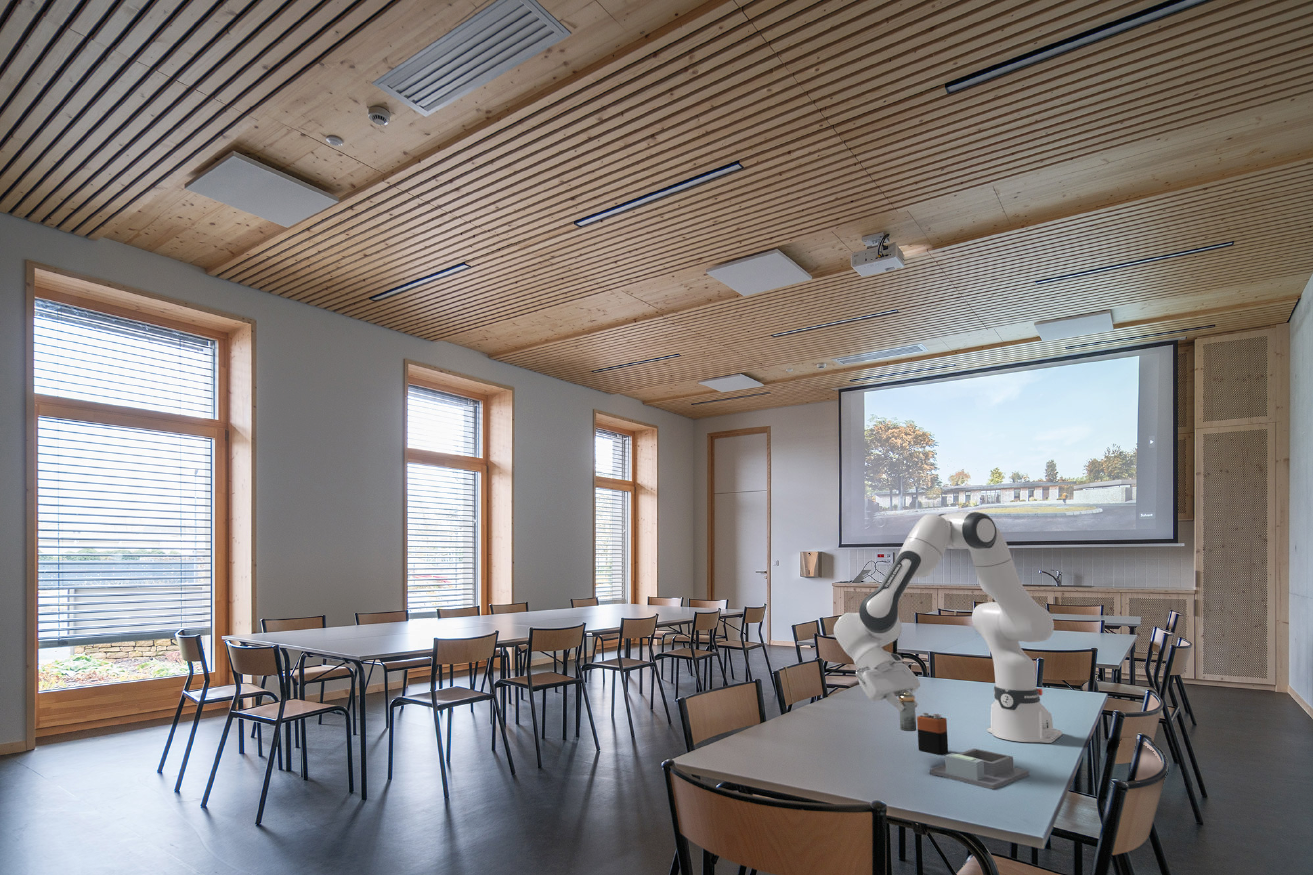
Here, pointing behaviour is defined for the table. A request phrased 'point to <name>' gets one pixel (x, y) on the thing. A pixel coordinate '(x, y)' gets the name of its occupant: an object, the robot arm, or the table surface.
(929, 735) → the battery
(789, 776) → the table surface
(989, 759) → the tester
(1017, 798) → the table surface
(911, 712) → the cell
